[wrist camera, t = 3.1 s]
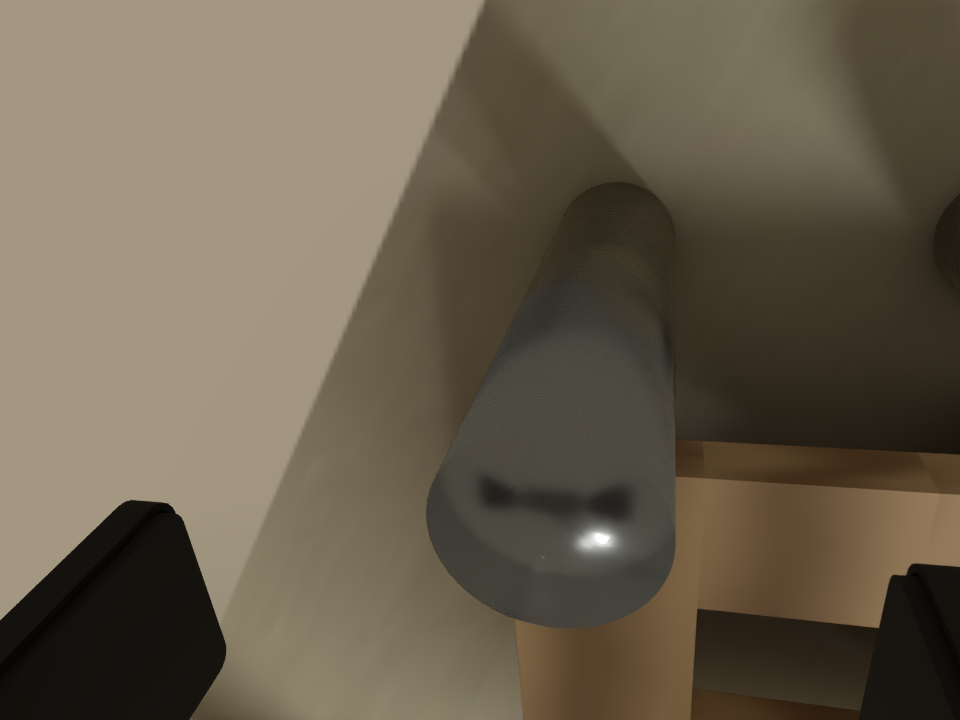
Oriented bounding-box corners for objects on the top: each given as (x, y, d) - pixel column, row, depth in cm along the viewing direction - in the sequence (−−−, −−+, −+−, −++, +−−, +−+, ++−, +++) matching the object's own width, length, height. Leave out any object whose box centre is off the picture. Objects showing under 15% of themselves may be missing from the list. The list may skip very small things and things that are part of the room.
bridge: (1075, 379, 24) (1213, 511, 18) (973, 711, 31) (1047, 887, 25) (538, 364, 28) (501, 465, 22) (554, 657, 35) (529, 795, 29)
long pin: (676, 180, 24) (680, 435, 10) (672, 293, 26) (672, 641, 12) (556, 184, 25) (412, 421, 11) (561, 292, 27) (440, 614, 13)
